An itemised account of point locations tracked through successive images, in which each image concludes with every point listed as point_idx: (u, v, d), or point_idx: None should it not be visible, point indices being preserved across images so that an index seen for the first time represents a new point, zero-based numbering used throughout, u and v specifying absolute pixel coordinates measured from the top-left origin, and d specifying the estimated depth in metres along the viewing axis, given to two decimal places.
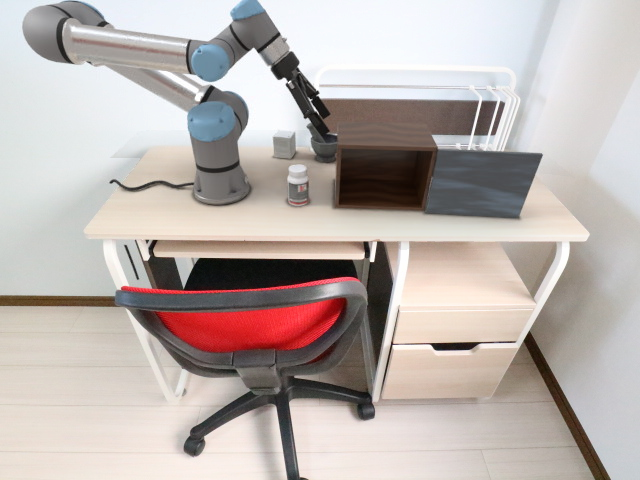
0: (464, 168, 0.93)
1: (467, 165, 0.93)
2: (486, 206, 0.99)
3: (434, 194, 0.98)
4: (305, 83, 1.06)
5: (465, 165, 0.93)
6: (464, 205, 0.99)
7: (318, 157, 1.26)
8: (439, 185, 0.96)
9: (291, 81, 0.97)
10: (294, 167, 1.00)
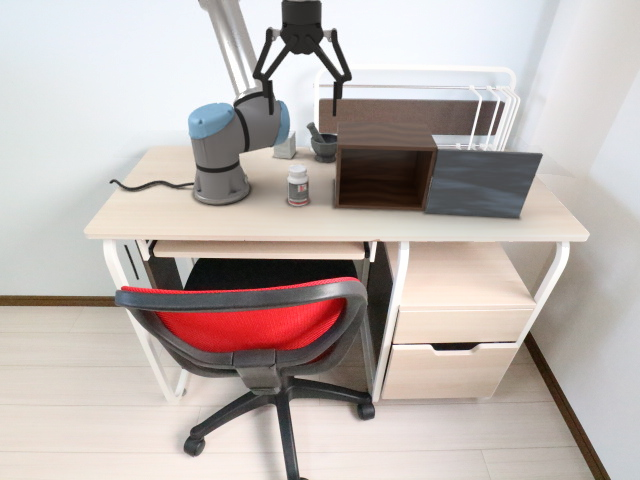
0: (464, 168, 0.93)
1: (467, 165, 0.93)
2: (486, 206, 0.99)
3: (434, 194, 0.98)
4: (316, 54, 0.75)
5: (465, 165, 0.93)
6: (464, 205, 0.99)
7: (318, 157, 1.26)
8: (439, 185, 0.96)
9: (266, 30, 0.74)
10: (294, 167, 1.00)
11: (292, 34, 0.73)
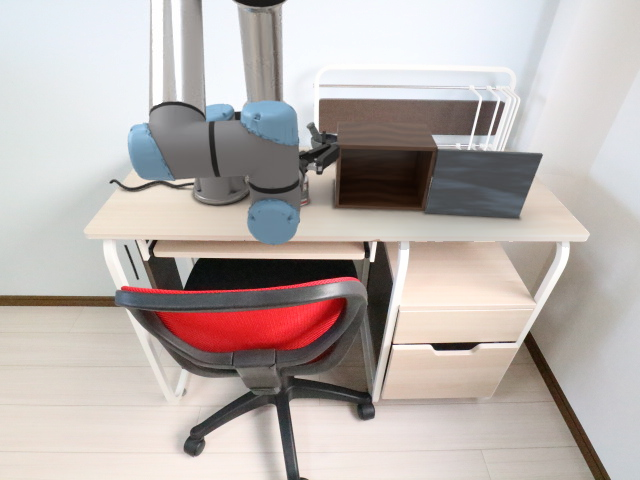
0: (464, 168, 0.93)
1: (467, 165, 0.93)
2: (486, 206, 0.99)
3: (434, 194, 0.98)
4: None
5: (465, 165, 0.93)
6: (464, 205, 0.99)
7: None
8: (439, 185, 0.96)
9: None
10: None
11: None
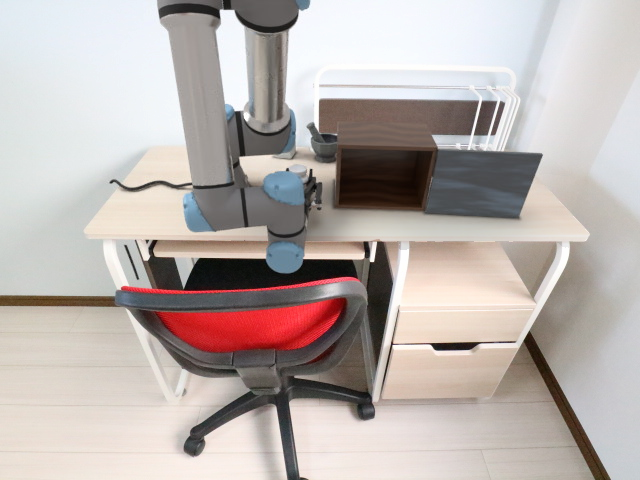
0: (464, 168, 0.93)
1: (467, 165, 0.93)
2: (486, 206, 0.99)
3: (434, 194, 0.98)
4: None
5: (465, 165, 0.93)
6: (464, 205, 0.99)
7: (318, 157, 1.26)
8: (439, 185, 0.96)
9: None
10: (294, 167, 1.00)
11: None
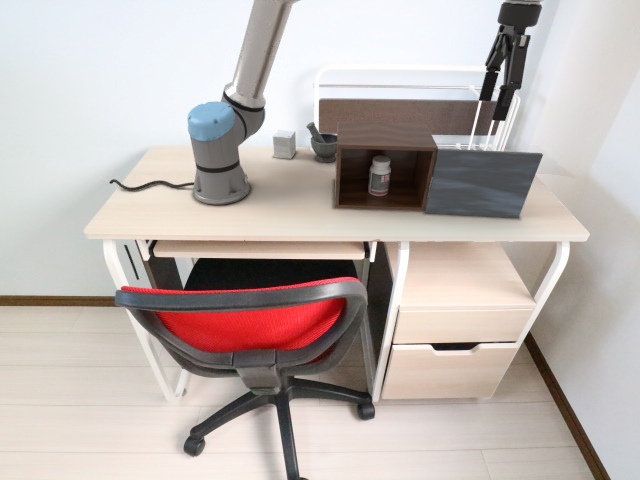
0: (464, 168, 0.93)
1: (467, 165, 0.93)
2: (486, 206, 0.99)
3: (434, 194, 0.98)
4: None
5: (465, 165, 0.93)
6: (464, 205, 0.99)
7: (318, 157, 1.26)
8: (439, 185, 0.96)
9: (527, 37, 0.74)
10: (378, 158, 1.03)
11: None
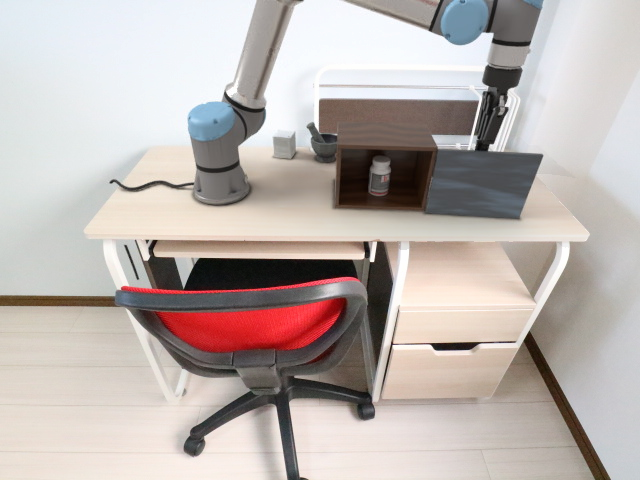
0: (464, 168, 0.93)
1: (467, 165, 0.93)
2: (486, 207, 0.99)
3: (434, 194, 0.98)
4: None
5: (465, 165, 0.93)
6: (464, 205, 0.99)
7: (318, 157, 1.26)
8: (439, 185, 0.96)
9: (504, 111, 0.82)
10: (378, 158, 1.03)
11: None
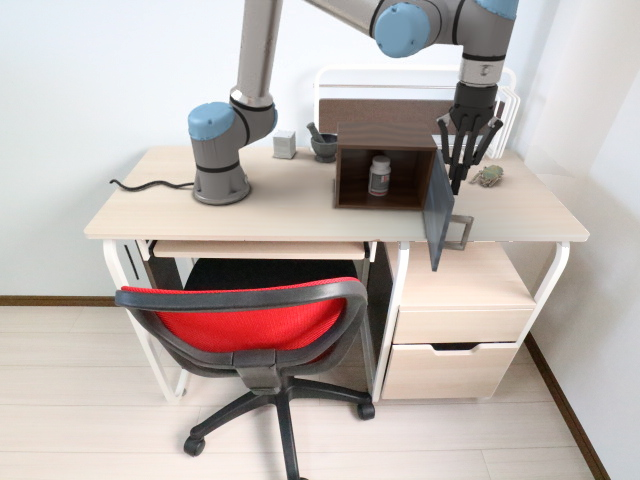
0: (435, 179, 0.88)
1: (436, 177, 0.88)
2: (430, 236, 0.88)
3: (427, 195, 0.98)
4: (471, 133, 0.77)
5: (436, 175, 0.88)
6: (428, 222, 0.93)
7: (318, 157, 1.26)
8: (429, 187, 0.95)
9: (437, 122, 0.77)
10: (378, 158, 1.03)
11: (462, 109, 0.75)
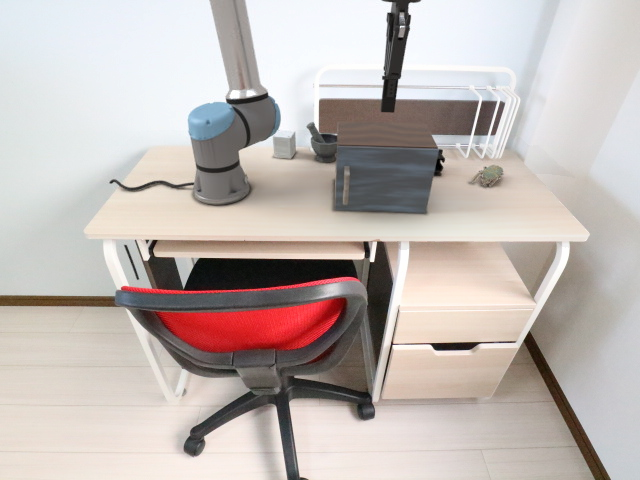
0: None
1: None
2: None
3: None
4: None
5: None
6: None
7: (318, 157, 1.26)
8: None
9: None
10: None
11: (392, 6, 0.71)
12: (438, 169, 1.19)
